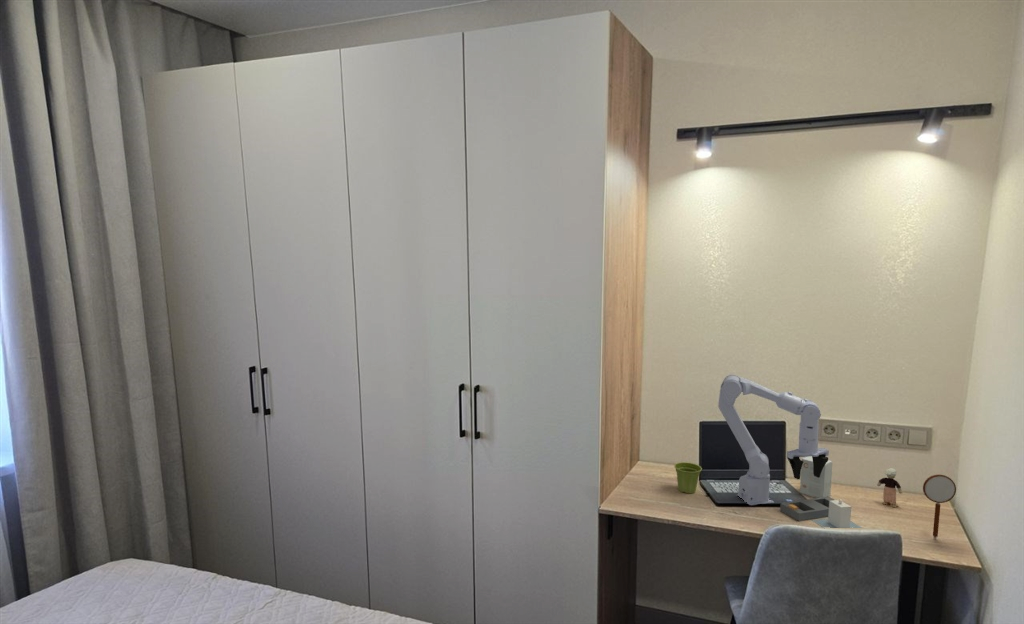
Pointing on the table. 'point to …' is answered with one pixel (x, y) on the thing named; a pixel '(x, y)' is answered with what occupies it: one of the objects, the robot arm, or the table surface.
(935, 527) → the magnifying glass
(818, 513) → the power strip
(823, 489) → the small box
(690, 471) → the plant pot
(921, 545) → the table surface
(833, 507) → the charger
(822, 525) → the mat
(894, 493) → the grandmother figurine
